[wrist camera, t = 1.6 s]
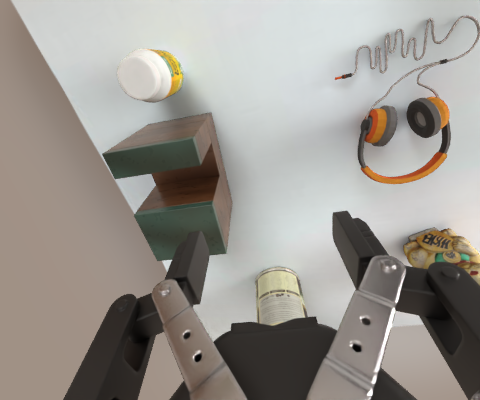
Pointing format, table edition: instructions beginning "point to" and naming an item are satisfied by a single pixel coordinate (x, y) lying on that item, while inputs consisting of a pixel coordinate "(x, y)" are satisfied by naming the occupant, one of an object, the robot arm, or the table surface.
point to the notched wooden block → (178, 183)
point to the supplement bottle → (150, 75)
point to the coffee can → (278, 296)
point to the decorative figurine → (442, 251)
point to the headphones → (408, 113)
